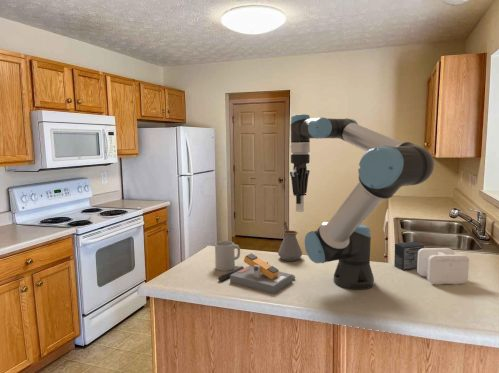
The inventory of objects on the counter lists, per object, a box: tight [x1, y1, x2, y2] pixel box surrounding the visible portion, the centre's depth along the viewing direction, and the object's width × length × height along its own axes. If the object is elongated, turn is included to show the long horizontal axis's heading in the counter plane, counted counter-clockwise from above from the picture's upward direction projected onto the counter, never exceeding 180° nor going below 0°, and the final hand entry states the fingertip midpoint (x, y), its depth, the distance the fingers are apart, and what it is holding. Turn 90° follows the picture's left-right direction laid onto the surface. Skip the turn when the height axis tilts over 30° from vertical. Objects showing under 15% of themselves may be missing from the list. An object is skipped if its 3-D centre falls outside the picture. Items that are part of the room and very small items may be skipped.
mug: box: [214, 240, 241, 272], centre depth 161 cm, size 12×8×11 cm
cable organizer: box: [416, 247, 470, 286], centre depth 142 cm, size 15×11×12 cm
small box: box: [393, 241, 425, 272], centre depth 158 cm, size 11×6×10 cm, turn 106°
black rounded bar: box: [217, 265, 245, 282], centre depth 150 cm, size 2×16×2 cm, turn 145°
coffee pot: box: [277, 220, 303, 262], centre depth 176 cm, size 21×12×15 cm, turn 4°
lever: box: [243, 253, 280, 279], centre depth 142 cm, size 14×4×3 cm, turn 55°
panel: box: [229, 260, 293, 295], centre depth 142 cm, size 20×14×8 cm
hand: (299, 211), depth 149 cm, fingers closed
